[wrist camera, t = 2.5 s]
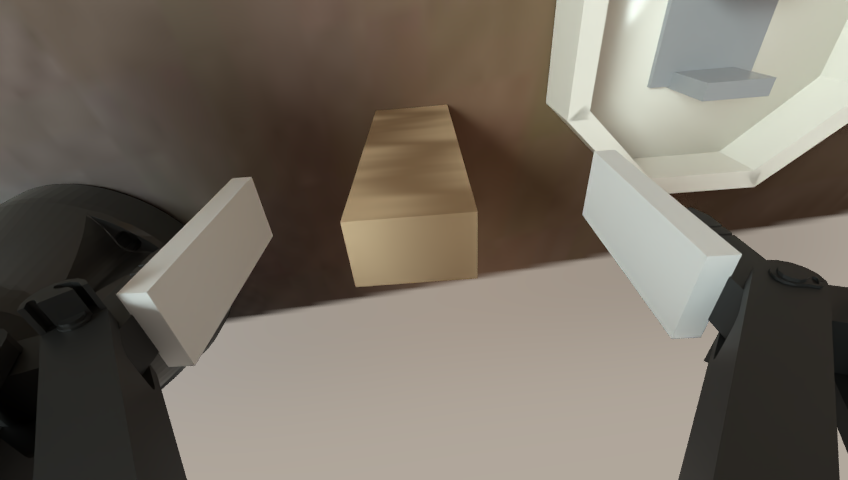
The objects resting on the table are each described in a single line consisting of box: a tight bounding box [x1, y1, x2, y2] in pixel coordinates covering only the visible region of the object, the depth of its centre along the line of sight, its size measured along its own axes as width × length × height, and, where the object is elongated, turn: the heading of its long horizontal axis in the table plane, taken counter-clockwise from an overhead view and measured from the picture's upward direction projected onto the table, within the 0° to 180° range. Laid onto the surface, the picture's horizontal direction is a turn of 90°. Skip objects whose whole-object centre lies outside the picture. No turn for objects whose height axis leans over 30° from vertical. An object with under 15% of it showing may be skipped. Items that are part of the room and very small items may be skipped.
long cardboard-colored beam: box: [340, 105, 478, 287], centre depth 16 cm, size 4×2×12 cm, turn 94°
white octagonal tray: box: [546, 0, 848, 194], centre depth 17 cm, size 15×15×4 cm
